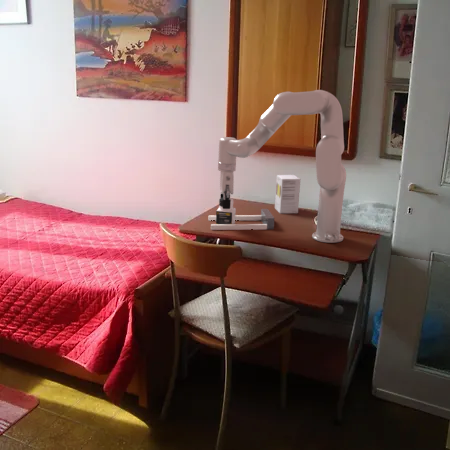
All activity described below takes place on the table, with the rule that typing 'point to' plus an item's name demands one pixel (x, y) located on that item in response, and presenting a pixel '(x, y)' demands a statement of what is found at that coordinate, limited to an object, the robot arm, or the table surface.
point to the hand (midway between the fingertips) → (225, 205)
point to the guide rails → (238, 226)
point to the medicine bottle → (225, 213)
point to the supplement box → (287, 194)
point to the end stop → (267, 218)
